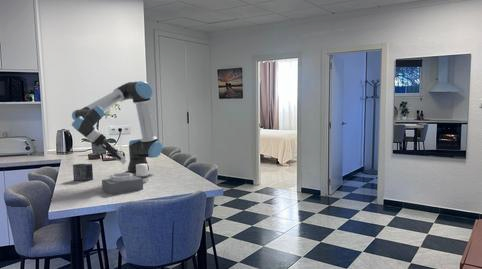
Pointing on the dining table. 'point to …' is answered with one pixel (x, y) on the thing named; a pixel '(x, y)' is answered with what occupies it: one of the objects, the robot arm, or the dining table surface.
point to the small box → (82, 172)
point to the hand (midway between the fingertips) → (124, 161)
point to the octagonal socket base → (122, 183)
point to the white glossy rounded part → (142, 172)
